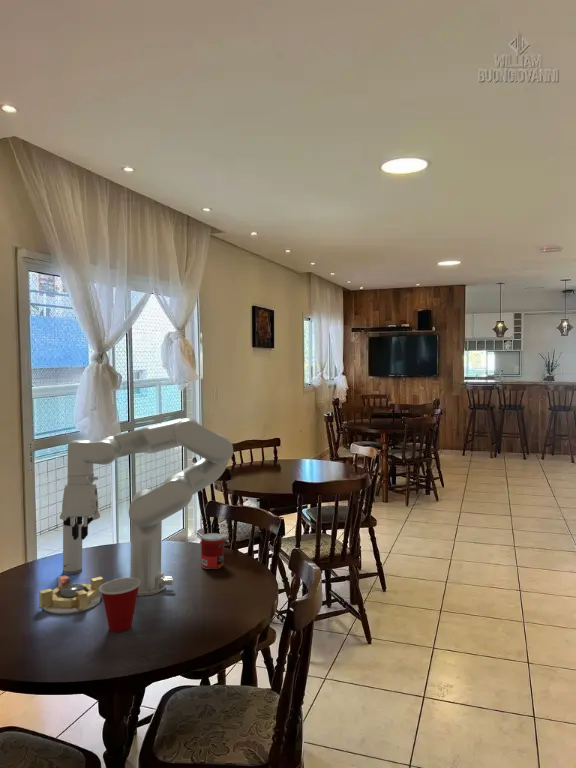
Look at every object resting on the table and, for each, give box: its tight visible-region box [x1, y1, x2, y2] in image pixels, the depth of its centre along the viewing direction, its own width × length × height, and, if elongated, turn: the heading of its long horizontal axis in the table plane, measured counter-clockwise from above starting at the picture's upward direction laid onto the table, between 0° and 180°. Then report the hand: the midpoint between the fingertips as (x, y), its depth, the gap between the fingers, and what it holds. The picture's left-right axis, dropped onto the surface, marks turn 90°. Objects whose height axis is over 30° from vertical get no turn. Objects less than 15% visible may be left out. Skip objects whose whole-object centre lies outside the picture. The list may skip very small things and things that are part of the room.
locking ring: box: [38, 574, 104, 610], centre depth 161 cm, size 14×14×4 cm
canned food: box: [200, 532, 225, 568], centre depth 194 cm, size 8×8×11 cm
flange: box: [42, 583, 102, 616], centre depth 161 cm, size 16×16×4 cm
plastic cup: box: [99, 577, 141, 633], centre depth 146 cm, size 11×11×12 cm
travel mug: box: [62, 517, 83, 575], centre depth 187 cm, size 6×7×20 cm
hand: (79, 538), depth 169 cm, fingers closed
